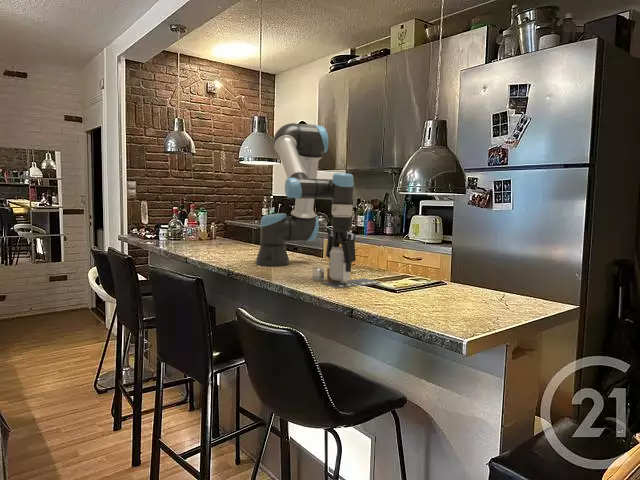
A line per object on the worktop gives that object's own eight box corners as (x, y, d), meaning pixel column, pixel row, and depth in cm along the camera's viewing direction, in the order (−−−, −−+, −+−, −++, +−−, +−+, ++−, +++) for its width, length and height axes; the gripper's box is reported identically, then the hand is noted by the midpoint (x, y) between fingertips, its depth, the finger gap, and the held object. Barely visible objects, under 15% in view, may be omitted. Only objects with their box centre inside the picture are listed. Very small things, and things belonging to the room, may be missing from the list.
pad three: (345, 281, 182) (345, 279, 181) (365, 279, 187) (365, 277, 187) (361, 286, 173) (361, 284, 173) (382, 284, 179) (382, 282, 179)
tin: (310, 280, 182) (310, 267, 182) (319, 279, 185) (320, 267, 184) (316, 282, 179) (316, 269, 178) (326, 281, 181) (326, 268, 181)
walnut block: (327, 281, 179) (326, 268, 179) (331, 280, 184) (330, 267, 184) (340, 281, 177) (339, 268, 177) (343, 280, 182) (343, 267, 182)
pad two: (320, 284, 175) (320, 282, 175) (342, 282, 181) (342, 280, 181) (336, 289, 167) (336, 287, 167) (358, 287, 173) (358, 284, 172)
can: (350, 277, 177) (351, 245, 176) (349, 281, 169) (350, 248, 168) (330, 276, 178) (331, 245, 176) (328, 280, 170) (329, 247, 169)
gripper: (317, 214, 177) (315, 274, 180) (350, 218, 161) (348, 284, 163) (333, 214, 182) (331, 273, 184) (367, 218, 165) (365, 282, 167)
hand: (339, 278), depth 173 cm, fingers closed on can, 7 cm apart
